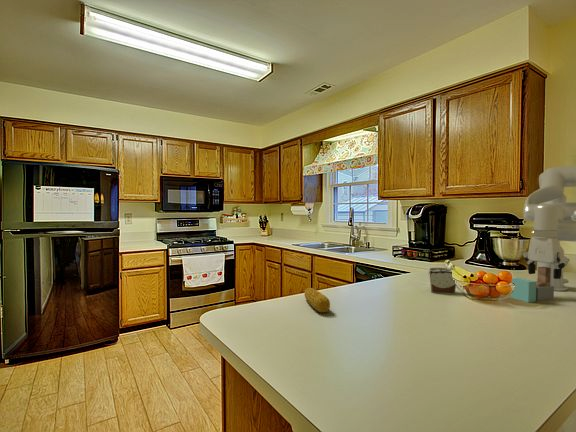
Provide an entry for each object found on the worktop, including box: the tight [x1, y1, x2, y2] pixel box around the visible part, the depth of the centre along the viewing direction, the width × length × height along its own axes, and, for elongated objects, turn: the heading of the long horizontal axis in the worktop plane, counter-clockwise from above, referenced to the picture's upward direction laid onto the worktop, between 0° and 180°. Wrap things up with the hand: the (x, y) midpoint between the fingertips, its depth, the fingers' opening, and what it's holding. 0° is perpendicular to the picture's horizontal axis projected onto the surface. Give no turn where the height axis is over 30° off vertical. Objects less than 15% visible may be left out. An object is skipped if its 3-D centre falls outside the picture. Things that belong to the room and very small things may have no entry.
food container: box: [427, 267, 457, 295], centre depth 139 cm, size 12×6×10 cm, turn 84°
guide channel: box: [536, 286, 555, 302], centre depth 131 cm, size 9×6×5 cm, turn 108°
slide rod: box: [536, 267, 551, 287], centre depth 131 cm, size 7×3×9 cm, turn 108°
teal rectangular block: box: [510, 277, 537, 303], centre depth 128 cm, size 4×7×8 cm, turn 18°
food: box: [303, 287, 331, 314], centre depth 117 cm, size 21×6×6 cm, turn 14°
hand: (544, 276), depth 131 cm, fingers open, 9 cm apart
